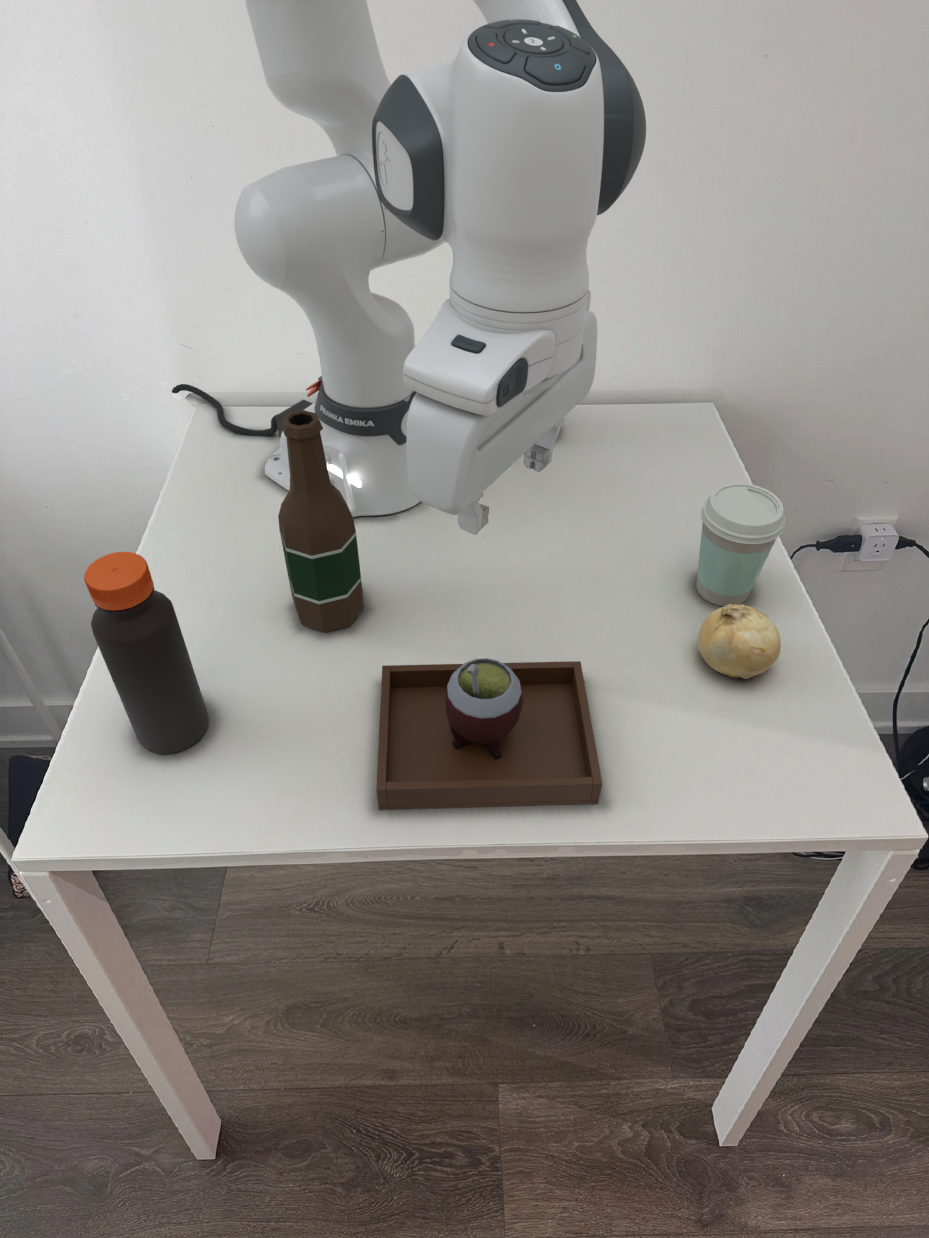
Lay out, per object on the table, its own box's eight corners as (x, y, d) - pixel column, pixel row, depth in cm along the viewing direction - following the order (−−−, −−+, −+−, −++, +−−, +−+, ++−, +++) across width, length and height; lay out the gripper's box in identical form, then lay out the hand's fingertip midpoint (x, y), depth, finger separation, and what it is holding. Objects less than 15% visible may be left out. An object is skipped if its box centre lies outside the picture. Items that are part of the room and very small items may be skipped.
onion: (753, 630, 93) (770, 580, 88) (785, 684, 87) (805, 635, 82) (682, 638, 92) (695, 589, 87) (710, 694, 86) (725, 645, 81)
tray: (378, 809, 76) (376, 789, 74) (384, 686, 87) (382, 665, 85) (598, 804, 77) (602, 783, 75) (577, 681, 87) (580, 660, 85)
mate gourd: (497, 697, 85) (502, 584, 75) (538, 754, 80) (549, 642, 70) (429, 723, 83) (424, 611, 72) (466, 785, 78) (467, 673, 67)
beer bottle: (300, 585, 98) (266, 395, 81) (368, 586, 97) (349, 397, 81) (287, 633, 92) (249, 440, 75) (360, 635, 92) (337, 442, 75)
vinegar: (212, 746, 81) (160, 589, 67) (138, 762, 80) (69, 606, 66) (206, 694, 86) (157, 537, 72) (136, 708, 85) (72, 552, 71)
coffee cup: (762, 620, 94) (792, 534, 85) (683, 609, 95) (704, 523, 87) (759, 570, 100) (786, 484, 91) (684, 560, 101) (704, 475, 93)
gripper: (552, 260, 64) (538, 421, 74) (385, 375, 52) (395, 550, 62) (629, 281, 62) (604, 445, 71) (473, 407, 49) (469, 584, 59)
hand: (506, 495), depth 66 cm, fingers open, 8 cm apart
